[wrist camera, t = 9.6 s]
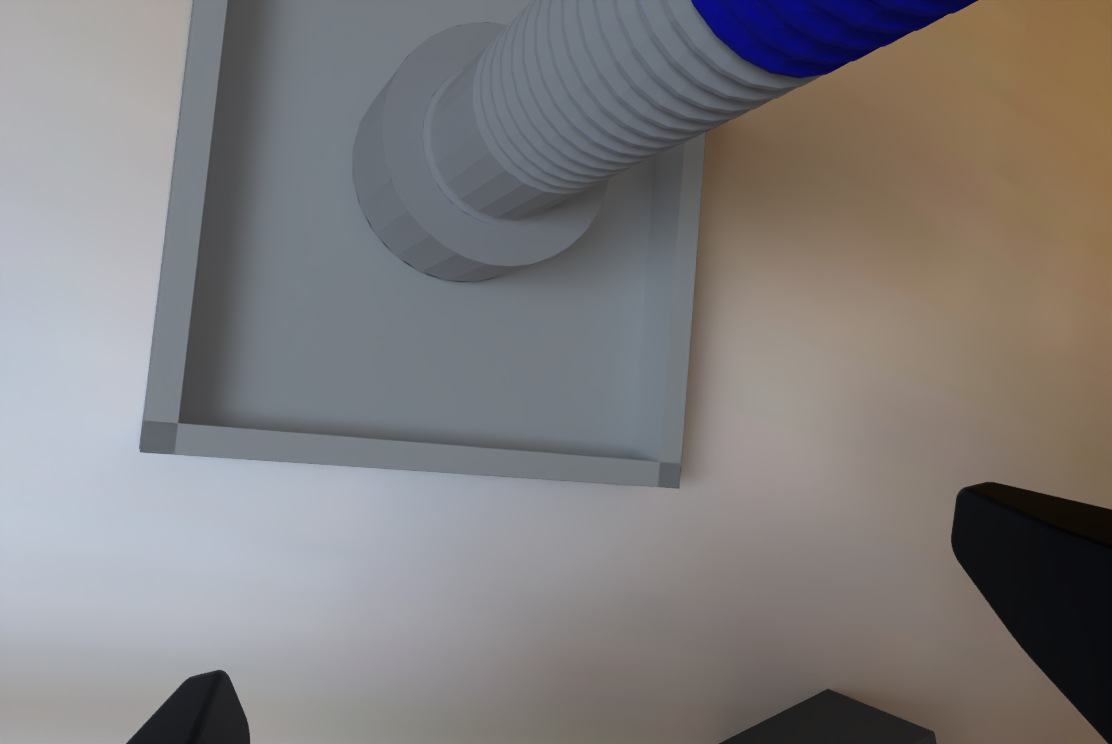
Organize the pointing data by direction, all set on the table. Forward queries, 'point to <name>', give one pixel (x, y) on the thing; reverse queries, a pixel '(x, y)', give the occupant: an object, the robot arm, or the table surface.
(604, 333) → the tray
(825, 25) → the bolt
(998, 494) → the robot arm
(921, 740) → the block
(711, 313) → the table surface
